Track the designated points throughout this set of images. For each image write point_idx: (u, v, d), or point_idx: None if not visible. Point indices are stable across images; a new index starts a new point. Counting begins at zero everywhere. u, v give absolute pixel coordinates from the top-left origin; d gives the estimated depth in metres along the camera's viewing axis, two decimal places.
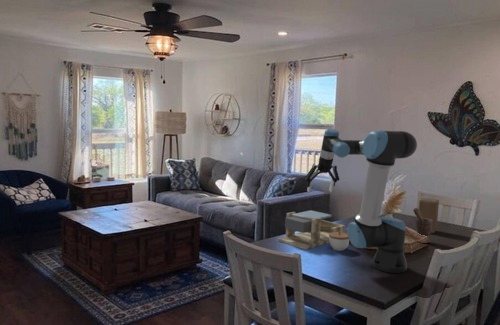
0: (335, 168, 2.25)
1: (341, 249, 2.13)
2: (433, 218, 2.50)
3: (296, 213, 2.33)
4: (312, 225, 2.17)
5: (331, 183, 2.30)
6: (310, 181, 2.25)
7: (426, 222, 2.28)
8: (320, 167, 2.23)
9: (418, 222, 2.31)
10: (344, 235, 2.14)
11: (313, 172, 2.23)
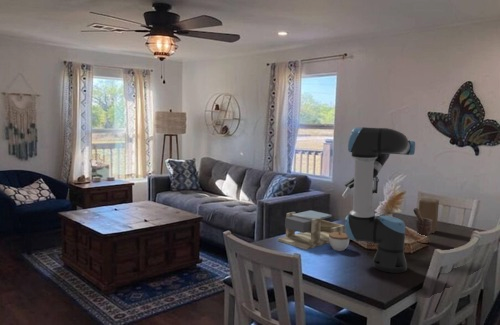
0: (375, 178, 2.20)
1: (341, 249, 2.13)
2: (433, 218, 2.50)
3: (296, 213, 2.33)
4: (312, 225, 2.17)
5: None
6: (347, 186, 2.28)
7: (426, 222, 2.28)
8: None
9: (418, 222, 2.31)
10: (344, 235, 2.14)
11: (353, 178, 2.29)
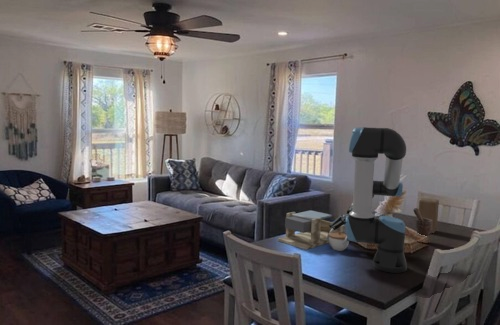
0: None
1: (341, 249, 2.13)
2: (433, 218, 2.50)
3: (296, 213, 2.33)
4: (312, 225, 2.17)
5: None
6: (332, 227, 2.21)
7: (426, 222, 2.28)
8: (345, 215, 2.22)
9: (418, 222, 2.31)
10: (344, 235, 2.14)
11: (337, 219, 2.23)
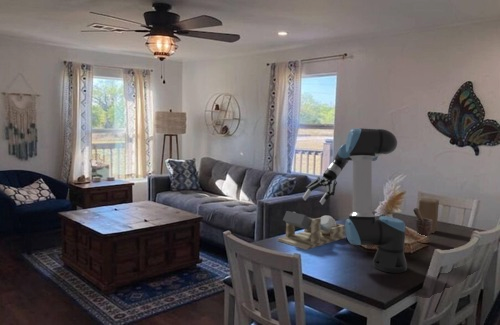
0: (333, 181, 2.30)
1: (330, 220, 2.34)
2: (433, 218, 2.50)
3: None
4: (312, 225, 2.17)
5: None
6: (308, 188, 2.38)
7: (426, 222, 2.28)
8: (321, 178, 2.37)
9: (418, 222, 2.31)
10: None
11: (314, 181, 2.39)
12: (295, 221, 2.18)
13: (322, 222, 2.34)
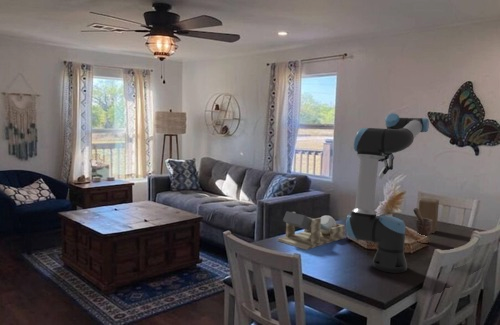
0: (390, 156, 2.24)
1: (330, 220, 2.34)
2: (433, 218, 2.50)
3: None
4: (312, 225, 2.17)
5: None
6: None
7: (426, 222, 2.28)
8: None
9: (418, 222, 2.31)
10: None
11: None
12: (295, 221, 2.18)
13: (322, 222, 2.34)
